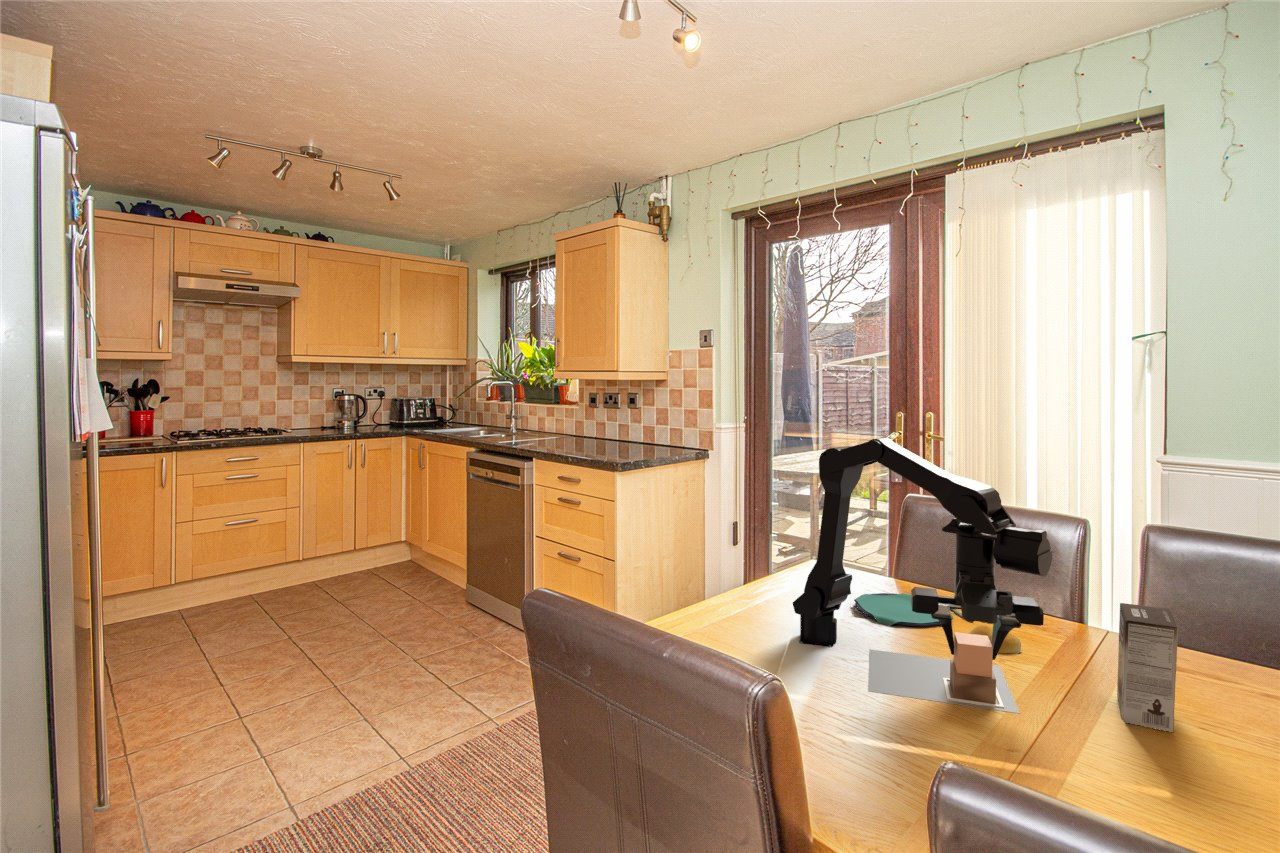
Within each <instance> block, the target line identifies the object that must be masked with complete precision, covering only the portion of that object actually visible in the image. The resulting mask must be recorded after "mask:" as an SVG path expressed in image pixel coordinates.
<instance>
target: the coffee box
mask: <svg viewBox="0 0 1280 853" xmlns="http://www.w3.org/2000/svg"><path fill="white" fill-rule="evenodd" d="M1118 624H1119V625H1118V656H1117V658H1118V659H1117V660H1118V661H1117V686H1116V687H1117V689H1116V690H1117V691H1116V692H1117V693H1116V694H1117V696H1116V698H1117V702H1118V707H1119V712H1120V718H1121V720H1122V722H1123V723H1124V722H1125V723H1124V724H1128V723H1130V725H1133V724H1135V725H1134V726H1137V725H1141V726H1140V727H1142V726H1146V727H1145V728H1147V727H1151V728H1150V729H1152V728H1156V729H1155V730H1157V729H1160V730H1159V731H1161V730H1165V731H1164V732H1166V731H1169V732H1168V733H1171V732H1173V733H1174V731H1175V730H1174V726H1175V723H1174V722H1175V703H1176V700H1175V699H1176V698H1175V697H1176V682H1177V681H1176V680H1177V678H1176V676H1177V660H1178V641H1179V640H1178V638H1179V626H1178V624H1177V622H1176V620H1175V618H1174V615H1173V614H1172V612H1171V609H1169V608H1164V607H1158V606H1157V607H1156V606H1155V607H1154V606H1149V605H1141V604H1131V603H1123V602H1122V603H1121V602H1120V603H1119V622H1118Z"/></svg>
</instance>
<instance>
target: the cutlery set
mask: <svg viewBox="0 0 1280 853" xmlns="http://www.w3.org/2000/svg"><path fill="white" fill-rule="evenodd" d="M854 602H855V603H854V604H855V606H856V608H857V609H858V611H860V612H861V613H863V614H864V615H865V616H869V617H870V618H873V619H875V620H876V622H877V623H878V624H881V625H886V626H888V627H891V626H892V625H895V624H896V625H900V626H901V625H902V626H907V627H909V626H910V627H933V626H934V627H935V626H938V625H941V624H940V622H939V620H938V619H933V618H932V617H931V614H924V613H916V612H913V611H912V606H911V593H903V592H902V593H888V592H887V593H886V592H880V593H864V594H861V595H860V596H858V597H856V598H854ZM951 611H952V612H954V614H955V615H956V616H959V617H960V618H962V619H963V617H962V612H960V611H958V609H952V608H950V615H951V618H952V620H954V615H953V614H952V613H951ZM967 622H969V621H967ZM969 623H970V622H969ZM971 623H974V622H971Z"/></svg>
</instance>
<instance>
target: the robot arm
mask: <svg viewBox="0 0 1280 853" xmlns="http://www.w3.org/2000/svg"><path fill="white" fill-rule="evenodd" d="M875 463H878V464H880V465H882V466H883V467H885V468H887V469H888V470H891V471H892V472H894V473H896V474H897V475H899V476H901V477H902V478H904V479H905V480H907V481H909V482H911V483H912V484H914V485H916V486H918V487H919V488H920V489H922V490H924V491H926V492H928V493H930V494H931V495H932V496H933V497H934V498H936V499H937V501H938V502H939V503H940V505H941V506H942V508H943V509H945V511H947V512H948V513H949V514H951V516H953V518H952V519H951V520H950V521H949V523H947V524H946V525H944V526H943V527H941V528H942V529H941V531H942V532H944V533H949V534H955V545H954V546H955V552H954V554H955V558H954V591H953V592H954V593H953V594H954V595H953V596H951V595H950V596H948V595H940V594H938V590H937V588H932V587H923V586H922V587H920V586H914V587H913V588H912V589H911V590H910V594H911V606H912V611H913V612H916V613H924V614H931V617H932V618H933V619H938V620H939V622H940V624H939V625H940V626H941V627H942V630H943V632H944V635H945V638H946V641H947V645H948V648H949V651H950V654H951V655H952V656H954V630H953V623H952V622H953V619H952V618H951V615H950V613H951V609H950V608H952V609H956V610H961V614H962V617H963V618H962V619H963V620H964V621H966V622H968V621H969V623H972V622H973V623H974V622H979V623H981V622H982V623H987V625H989V624H990V625H992V627H993V633H992V642H991V644H992V647H993V661H995V660H996V659H997V656H998V655H999V653H998V652H999V650H1000V648H1001V645H1002V643H1003V641H1004V639H1005V637H1006V636H1007V634H1008V633H1009V632H1011V631H1012V630H1013V629H1020V628H1021V627H1022V625H1030V626H1031V625H1032V626H1037V627H1038V626H1039V627H1040V626H1044V616H1045V615H1044V609H1043V608H1042V607H1041V605H1040V603H1039V602H1038V601H1037V600H1036V599H1035V598H1034V597H1031V596H1030V597H1028V596H1019V595H1013V593H1012V591H1009V590H998V589H997V588H996V584H995V568H996V566H995V564H996V565H999V566H1000V567H1001V569H1004V570H1007V571H1014V572H1016V573H1017V572H1018V573H1023V574H1027V575H1033V576H1038V577H1046V576H1047V575H1048V573H1049V572H1050V569H1051V566H1052V561H1053V550H1052V549H1051V548H1052V547H1051V543H1050V541H1049V540H1048V537H1047V536H1048V533H1047V531H1046V530H1045V529H1044V530H1042V529H1027V528H1020V527H1017V525H1016V523H1015V521H1014V520H1013V518H1012V517H1011V516H1010V514H1009V513H1008V512H1007V510H1006V509H1005V507H1004V505H1003V504H1002V499H1001V497H1000V493H999V491H998V490H997V489H995V488H994V487H993V486H990V485H988V484H986V483H982V482H980V481H977V480H973V479H971V478H967V477H962V476H958V475H955V474H952V473H950V472H948V471H946V470H944V469H942V468H940V467H938V466H937V465H935V464H933V463H932V462H929V461H928V460H926V459H924V458H923V457H920V456H919V455H917V454H915V453H913V452H911V451H910V450H908V449H906V448H904V447H903V446H901V445H899V444H897V443H895V442H894V441H893V440H892V439H891V438H889V437H880V438H871V439H870V440H868V441H866V442H865V441H864V442H863V443H859V444H855V445H853V446H852V445H847V446H838V447H837V446H836V447H830V448H829V447H828V448H826V449H825V450H824V451H822V452H821V453H820V455H819V458H818V474H819V476H818V477H819V480H820V482H821V485H822V487H823V490H824V495H823V496H824V497H823V504H822V512H821V522H820V528H819V529H820V531H819V539H818V540H819V541H818V548H817V556H816V560H815V564H814V565H813V567H812V569H811V570H810V571H809V573H808V576H807V579H806V582H805V586H804V588H803V589H804V590H803V593H802V594H800V596H798V597H797V598H796V599H794V601H792V607H793V609H794V614H797V615H799V616H800V617H799V618H800V621H799V622H800V623H799V624H800V625H799V626H800V627H799V629H800V631H799V632H800V635H799V636H800V638H799V640H798V643H799V644H802V645H803V644H804V645H809V646H810V645H811V646H812V645H813V646H818V647H819V646H820V647H826V648H833V647H834V644H836V643H837V639H838V638H837V637H838V619H837V618H835V611H839V610H840V608H841V606H842V603H844V602H845V601H846V600H847V598H848V596H850V595H851V594H852V590H851V585H852V581H853V575H852V574H849V573H846V571H845V569H844V568H845V567H844V565H843V564H844V563H843V561H844V555H845V547H846V546H845V545H846V537H847V530H848V520H849V515H850V514H849V513H850V512H849V511H850V505H851V498H852V494H853V491H854V490H855V488H856V487H857V485H858V483H859V482H860V479H861V476H862V475H863V474H862V473H863V469H864V467H867V466H870V465H873V464H875Z"/></svg>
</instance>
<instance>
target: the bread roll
mask: <svg viewBox="0 0 1280 853" xmlns="http://www.w3.org/2000/svg"><path fill="white" fill-rule="evenodd" d="M992 633H993V625H989V624H979V625H975V626H974V627H973V628H972V629H971V630H970V631H969V632H968V633H967V634H976V635H985V636H988V638H989V640H990V642H992ZM1021 651H1022V642H1021V640H1020V638H1019V636H1017V635H1016V634H1015V633H1013V632H1011V631H1010V632H1009V633H1008V634H1007V636H1006V637H1005V639H1004V641H1003V643H1002V645H1001V648H1000V650H999V652H998V654H1019V653H1020V652H1021Z"/></svg>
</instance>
